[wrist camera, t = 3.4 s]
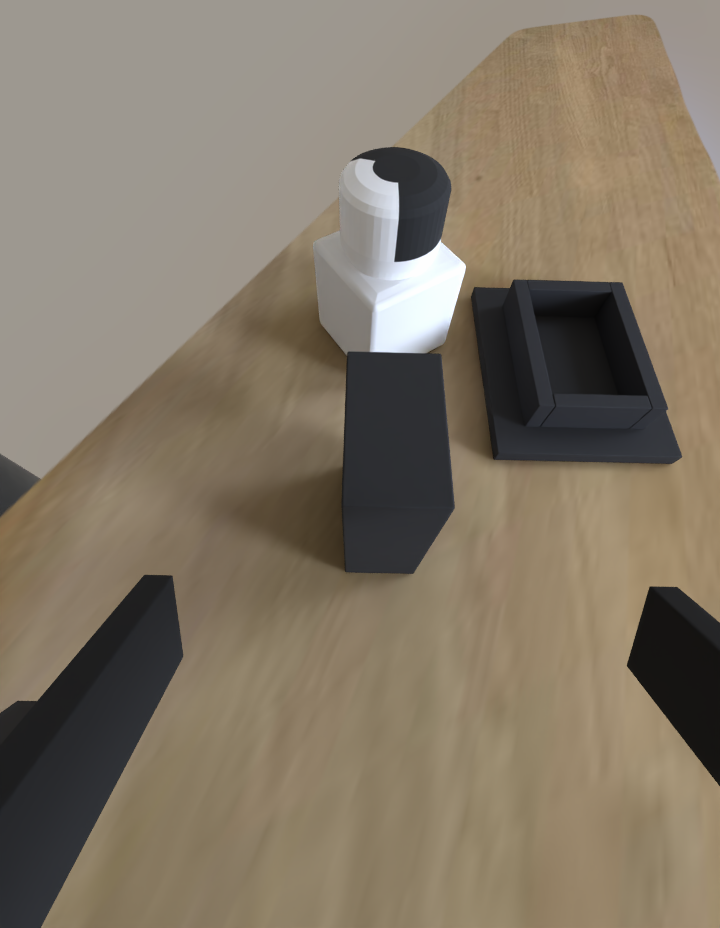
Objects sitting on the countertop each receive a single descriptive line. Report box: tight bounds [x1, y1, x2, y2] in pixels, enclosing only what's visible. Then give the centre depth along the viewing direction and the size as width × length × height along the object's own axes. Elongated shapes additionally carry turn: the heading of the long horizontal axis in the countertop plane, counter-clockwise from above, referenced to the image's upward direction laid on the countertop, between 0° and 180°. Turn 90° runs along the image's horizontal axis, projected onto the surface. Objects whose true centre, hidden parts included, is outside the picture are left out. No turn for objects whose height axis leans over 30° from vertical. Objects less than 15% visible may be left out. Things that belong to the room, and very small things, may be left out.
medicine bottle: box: [313, 147, 466, 355], centre depth 27 cm, size 7×7×12 cm
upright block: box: [342, 351, 455, 574], centre depth 21 cm, size 4×7×11 cm, turn 179°
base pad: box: [471, 280, 682, 464], centre depth 30 cm, size 12×15×4 cm
